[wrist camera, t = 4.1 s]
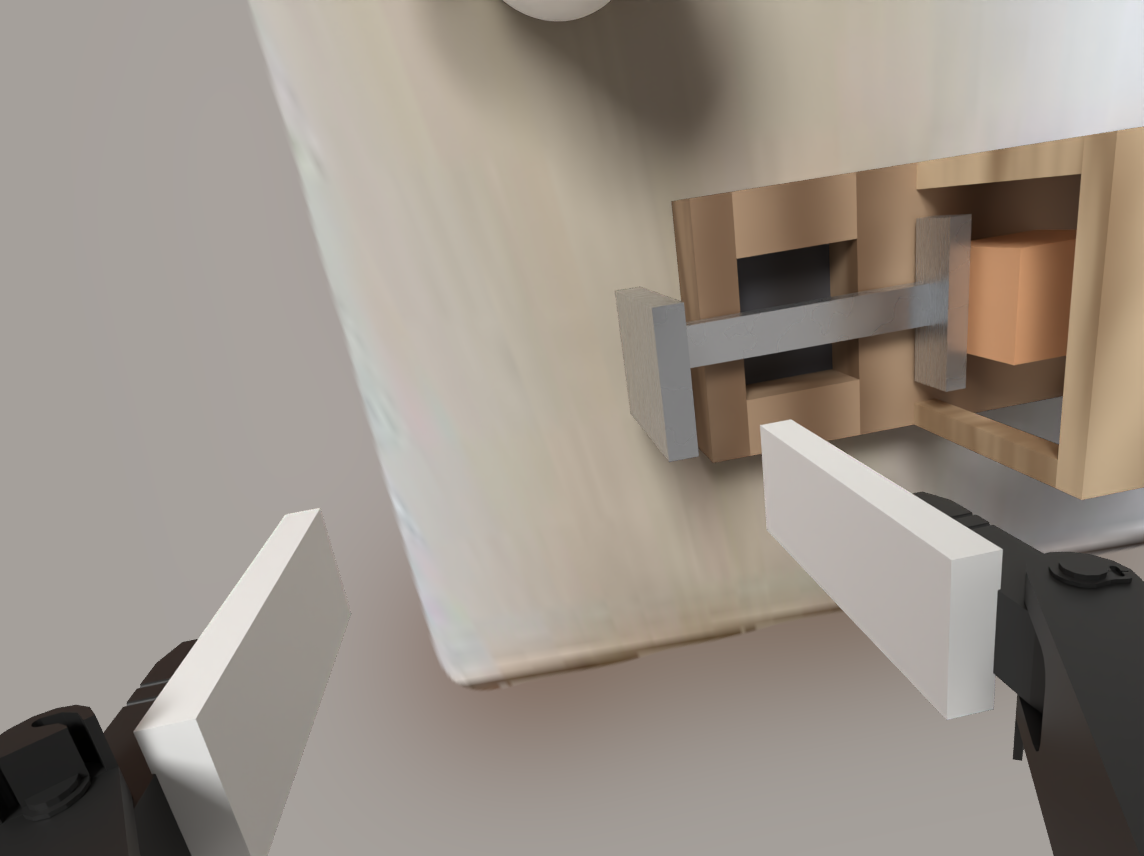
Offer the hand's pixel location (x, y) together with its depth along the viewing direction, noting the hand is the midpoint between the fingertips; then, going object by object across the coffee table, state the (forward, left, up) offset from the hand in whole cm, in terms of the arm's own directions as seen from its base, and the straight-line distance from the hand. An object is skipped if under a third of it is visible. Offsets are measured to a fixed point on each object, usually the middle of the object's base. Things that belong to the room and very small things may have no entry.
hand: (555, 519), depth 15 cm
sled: (+9, +9, -16) cm, 21 cm away
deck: (+18, +18, -20) cm, 32 cm away
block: (+17, +17, -17) cm, 29 cm away
